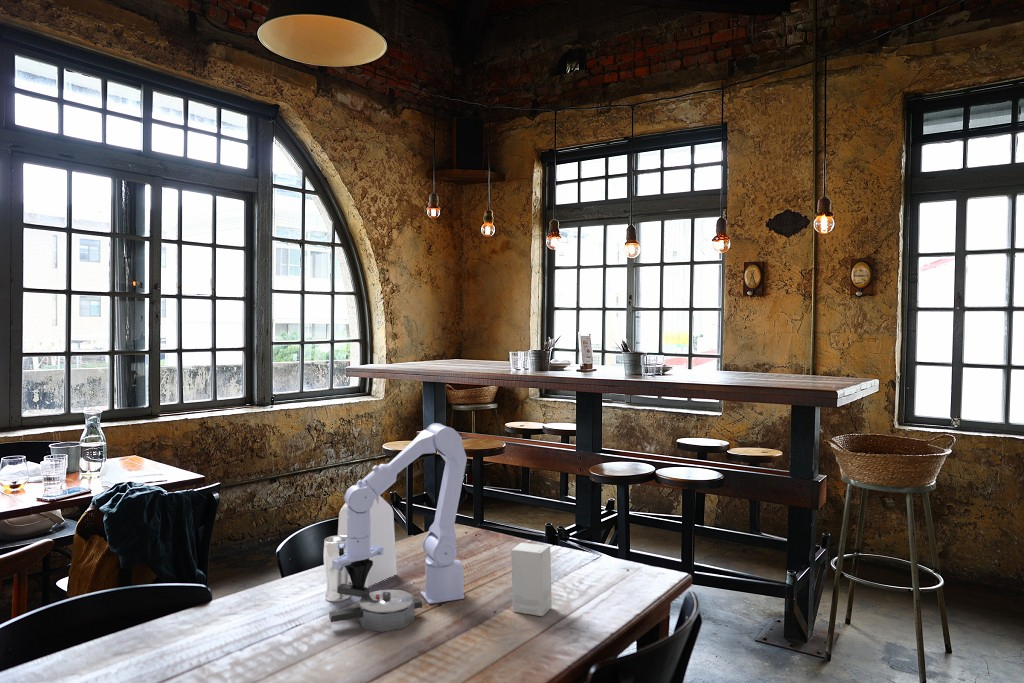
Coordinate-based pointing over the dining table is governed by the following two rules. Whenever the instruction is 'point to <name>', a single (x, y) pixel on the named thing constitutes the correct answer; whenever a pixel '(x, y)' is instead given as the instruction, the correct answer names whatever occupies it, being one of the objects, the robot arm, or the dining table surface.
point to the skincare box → (531, 579)
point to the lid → (378, 598)
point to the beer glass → (333, 550)
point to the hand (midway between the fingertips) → (358, 590)
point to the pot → (378, 617)
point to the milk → (377, 539)
